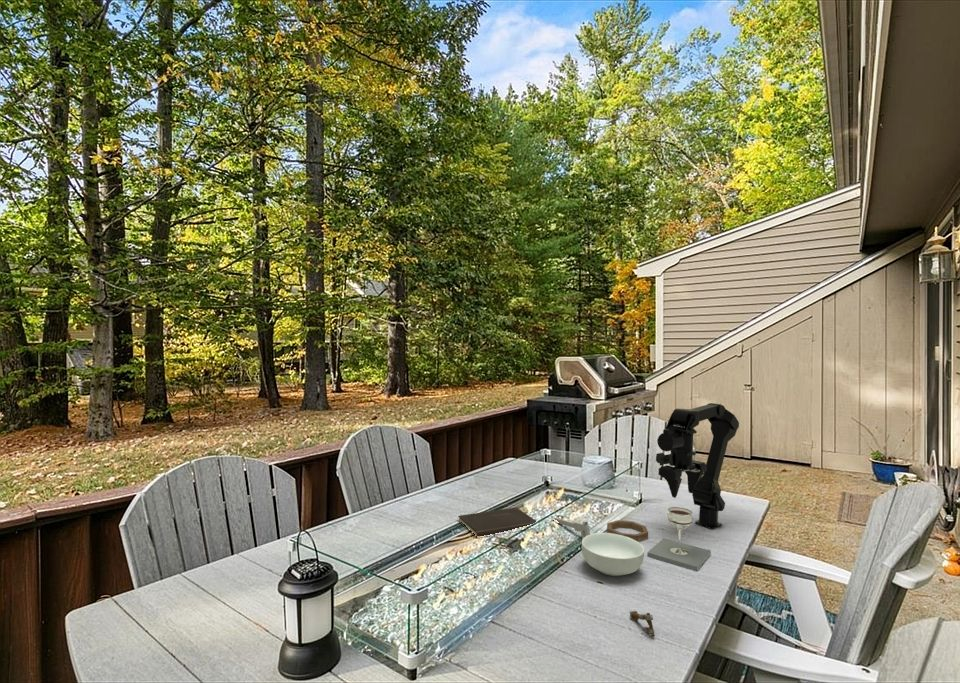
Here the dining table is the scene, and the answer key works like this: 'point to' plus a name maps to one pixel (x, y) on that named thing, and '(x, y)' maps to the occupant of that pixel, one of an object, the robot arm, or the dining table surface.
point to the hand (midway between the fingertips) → (682, 495)
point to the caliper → (576, 526)
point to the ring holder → (631, 525)
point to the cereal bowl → (612, 553)
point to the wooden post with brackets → (648, 618)
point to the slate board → (689, 560)
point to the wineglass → (679, 524)
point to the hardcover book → (496, 521)
